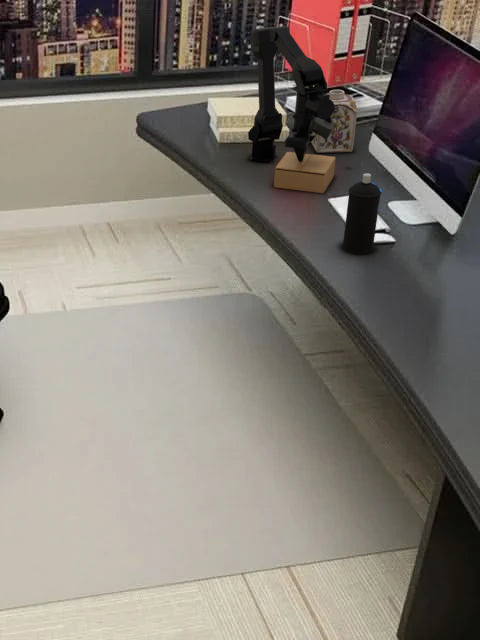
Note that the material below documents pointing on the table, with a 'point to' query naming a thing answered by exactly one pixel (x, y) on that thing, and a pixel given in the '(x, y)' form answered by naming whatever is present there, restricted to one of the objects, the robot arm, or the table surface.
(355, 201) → the aerosol can
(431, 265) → the table surface
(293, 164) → the flap
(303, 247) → the table surface
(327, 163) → the carton
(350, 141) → the decorative jar
